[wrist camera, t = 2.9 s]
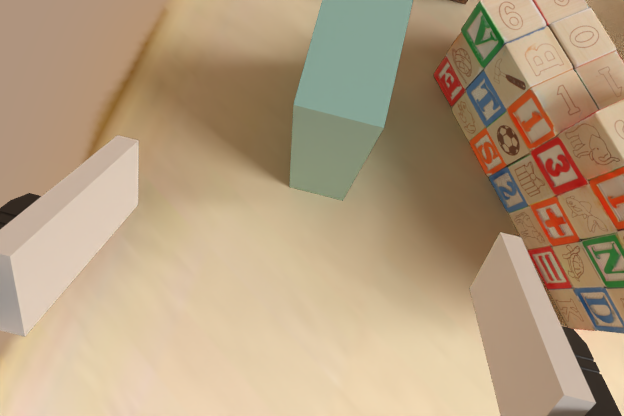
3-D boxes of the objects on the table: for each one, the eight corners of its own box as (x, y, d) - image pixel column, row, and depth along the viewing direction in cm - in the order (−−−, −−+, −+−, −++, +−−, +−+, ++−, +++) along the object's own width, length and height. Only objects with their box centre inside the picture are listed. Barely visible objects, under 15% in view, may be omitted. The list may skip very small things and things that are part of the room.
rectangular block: (371, 78, 35) (427, -64, 22) (342, 200, 33) (384, 128, 20) (321, 65, 35) (345, -85, 22) (289, 186, 33) (293, 104, 20)
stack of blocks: (428, 75, 36) (502, -41, 24) (496, 47, 37) (600, -78, 25) (568, 330, 32) (736, 346, 20) (639, 293, 33) (840, 286, 21)
